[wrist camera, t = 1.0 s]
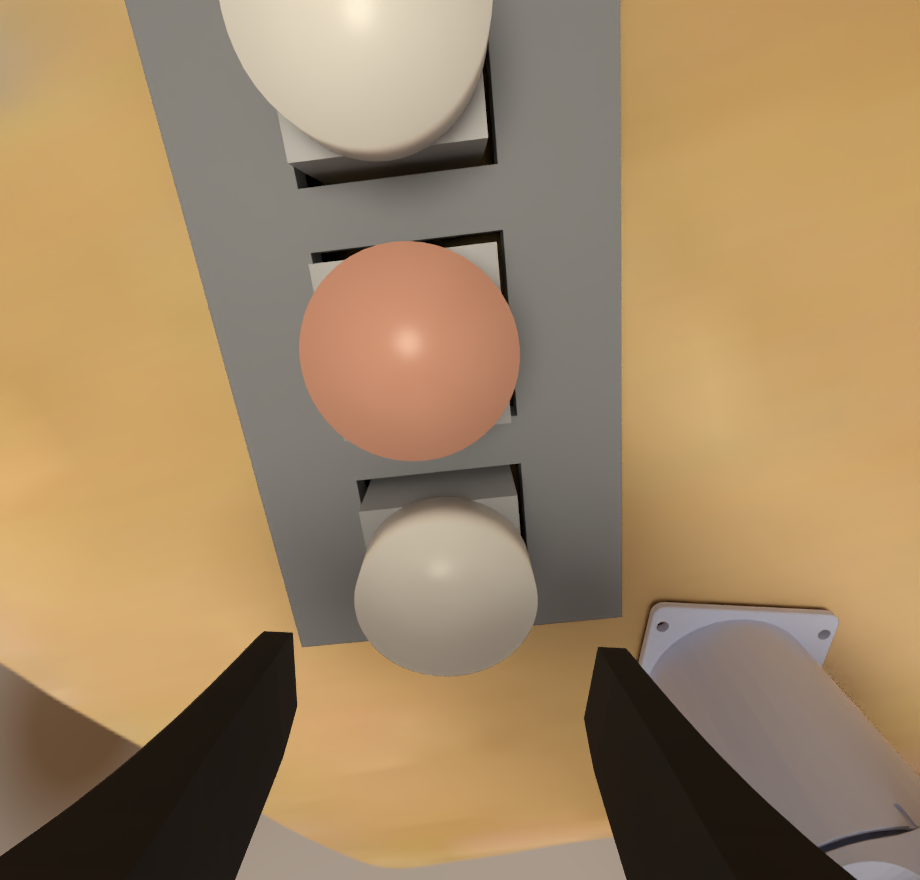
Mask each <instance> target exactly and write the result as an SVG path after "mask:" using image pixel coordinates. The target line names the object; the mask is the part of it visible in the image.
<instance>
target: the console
mask: <svg viewBox="0 0 920 880" xmlns="http://www.w3.org/2000/svg"><path fill="white" fill-rule="evenodd" d="M124 1H125V4H126V8H127V12H128V15H129V19H130V22H131V26H132V30H133V33H134V37H135V41H136V44H137V48H138V52H139V55H140V59H141V62H142V66H143V70H144V73H145V77H146V81H147V84H148V88H149V92H150V95H151V99H152V103H153V106H154V110H155V113H156V117H157V121H158V124H159V128H160V132H161V135H162V139H163V143H164V146H165V150H166V154H167V157H168V161H169V164H170V168H171V172H172V175H173V179H174V183H175V186H176V190H177V194H178V197H179V201H180V205H181V208H182V212H183V215H184V219H185V223H186V226H187V230H188V234H189V237H190V241H191V245H192V248H193V252H194V256H195V259H196V263H197V266H198V270H199V274H200V277H201V281H202V285H203V288H204V292H205V296H206V299H207V303H208V306H209V310H210V314H211V317H212V321H213V325H214V328H215V332H216V336H217V339H218V343H219V347H220V350H221V354H222V357H223V361H224V365H225V368H226V372H227V376H228V379H229V383H230V387H231V390H232V394H233V398H234V401H235V405H236V408H237V412H238V416H239V419H240V423H241V427H242V430H243V434H244V438H245V441H246V445H247V449H248V452H249V456H250V459H251V463H252V467H253V470H254V474H255V478H256V481H257V485H258V489H259V492H260V496H261V500H262V503H263V507H264V510H265V514H266V518H267V521H268V525H269V529H270V532H271V536H272V540H273V543H274V547H275V550H276V554H277V558H278V561H279V565H280V569H281V572H282V576H283V580H284V583H285V587H286V591H287V594H288V598H289V601H290V605H291V609H292V612H293V616H294V620H295V623H296V627H297V631H298V634H299V638H300V642H301V645H302V647H310V646H320V645H331V644H341V643H352V642H363V641H368V639H367V638H366V636H365V635H364V633H363V631H362V629H361V627H360V625H359V623H358V620H357V616H356V613H355V606H354V593H355V588H356V583H357V579H358V576H359V573H360V570H361V567H362V563H363V560H364V557H365V554H366V551H367V550H366V545H365V541H364V536H363V531H362V526H361V521H360V516H359V510H360V507H361V505H362V502H363V499H364V497H365V494H366V492H367V490H366V485H365V480H367V479H376V478H386V477H395V476H405V475H414V474H423V473H433V472H442V471H452V470H461V469H471V468H480V467H490V466H499V465H509V464H518V468H519V480H520V493H521V506H522V518H523V531H524V538H522V539H523V541H524V543H525V545H526V548H527V551H528V554H529V558H530V562H531V567H532V571H533V575H534V579H535V583H536V588H537V595H538V607H537V613H536V617H535V620H534V623H533V625H542V624H553V623H564V622H574V621H585V620H595V619H606V618H616V617H622V439H621V96H620V0H493V3H492V15H491V22H490V30H489V37H488V44H487V51H486V62H487V75H488V87H489V100H490V113H491V125H492V138H493V151H494V163H495V164H493V165H485V166H477V167H470V168H462V169H454V170H446V171H438V172H430V173H422V174H414V175H406V176H398V177H390V178H382V179H374V180H366V181H358V182H350V183H342V184H334V185H326V186H318V187H310V188H308V186H307V181H306V176H305V173H304V172H302V171H301V170H299V169H297V168H295V167H293V166H292V165H290V164H288V162H287V157H286V152H285V148H284V143H283V138H282V133H281V128H280V123H279V118H278V113H277V110H276V109H275V108H274V107H273V106H272V105H271V104H270V103H269V102H268V101H267V100H266V98H265V97H264V96H263V95H262V94H261V92H260V91H259V90H258V89H257V88H256V86H255V85H254V83H253V82H252V80H251V79H250V77H249V76H248V74H247V73H246V71H245V70H244V68H243V66H242V64H241V62H240V60H239V58H238V56H237V54H236V52H235V50H234V48H233V45H232V43H231V40H230V37H229V35H228V32H227V30H226V26H225V22H224V19H223V15H222V11H221V7H220V1H219V0H124ZM493 232H500V239H501V252H502V265H503V277H504V290H505V300H506V302H507V303H508V305H509V308H510V310H511V313H512V315H513V317H514V320H515V324H516V328H517V331H518V337H519V345H520V365H519V373H518V378H517V382H516V386H515V389H514V392H513V404H514V406H510V412H511V423H505V424H496V425H494V426H493V427H492V428H491V429H490V430H489V431H488V432H487V433H486V434H485V435H483V436H482V437H481V438H480V439H478V440H477V441H476V442H474V443H473V444H471V445H469V446H468V447H466V448H464V449H463V450H460V451H458V452H456V453H454V454H451V455H448V456H445V457H442V458H438V459H432V460H427V461H400V460H394V459H389V458H384V457H381V456H378V455H375V454H372V453H370V452H368V451H365V450H363V449H361V448H359V447H358V446H356V445H354V444H353V443H351V442H349V441H344V438H343V436H342V435H340V434H339V433H338V432H337V431H336V430H335V429H334V428H333V427H332V426H331V425H330V424H329V423H328V422H327V421H326V420H325V418H324V417H323V416H322V415H321V413H320V412H319V411H318V409H317V407H316V406H315V404H314V402H313V400H312V399H311V397H310V394H309V392H308V390H307V387H306V385H305V381H304V378H303V374H302V370H301V364H300V358H299V339H300V330H301V325H302V321H303V317H304V314H305V311H306V309H307V306H308V304H309V301H310V299H311V298H312V296H313V294H314V290H313V285H312V280H311V275H310V270H309V265H308V264H316V263H322V258H321V253H328V252H336V251H344V250H353V249H361V248H369V247H372V246H375V245H379V244H384V243H389V242H398V241H414V242H419V241H427V240H435V239H443V238H452V237H460V236H468V235H477V234H485V233H493Z"/></svg>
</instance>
